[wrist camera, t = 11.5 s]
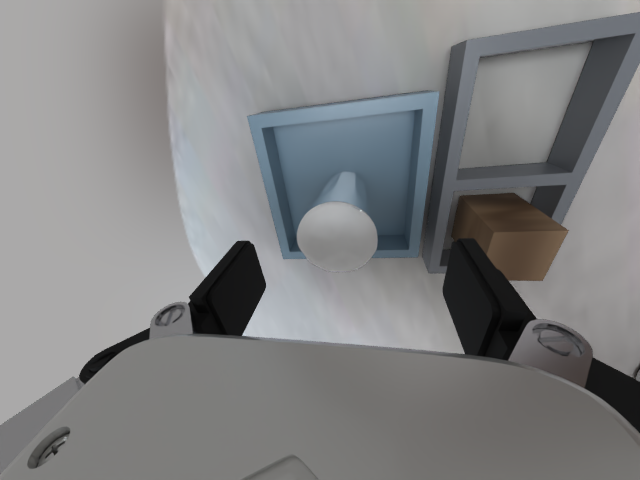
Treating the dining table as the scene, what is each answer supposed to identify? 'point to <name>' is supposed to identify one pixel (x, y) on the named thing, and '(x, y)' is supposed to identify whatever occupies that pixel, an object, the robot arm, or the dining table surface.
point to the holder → (573, 137)
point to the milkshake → (339, 226)
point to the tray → (350, 163)
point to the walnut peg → (510, 233)
